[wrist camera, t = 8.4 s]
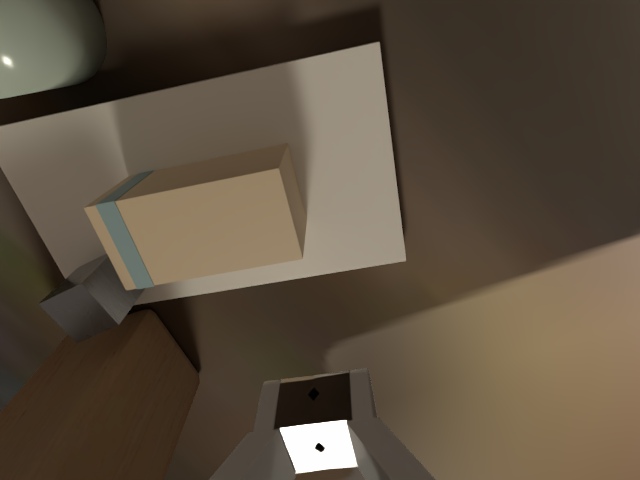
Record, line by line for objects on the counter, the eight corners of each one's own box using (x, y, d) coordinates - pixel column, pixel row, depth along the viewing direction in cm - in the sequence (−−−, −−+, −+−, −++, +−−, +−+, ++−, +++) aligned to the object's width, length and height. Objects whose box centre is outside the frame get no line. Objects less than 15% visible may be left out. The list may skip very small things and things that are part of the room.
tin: (77, 267, 33) (38, 304, 28) (115, 249, 32) (81, 283, 27) (109, 303, 34) (76, 343, 30) (146, 286, 34) (119, 325, 29)
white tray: (0, 125, 30) (-21, 131, 28) (376, 41, 27) (379, 41, 25) (96, 299, 37) (85, 313, 35) (401, 248, 34) (406, 260, 32)
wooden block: (124, 400, 43) (-23, 661, 25) (64, 331, 39) (-162, 585, 21) (206, 376, 41) (111, 639, 23) (153, 301, 37) (-12, 551, 19)
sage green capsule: (-24, -19, 26) (-137, -37, 19) (76, -46, 25) (-8, -74, 19) (33, 94, 29) (-49, 110, 22) (123, 73, 28) (65, 84, 22)
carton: (287, 142, 28) (128, 175, 29) (278, 167, 22) (82, 207, 24) (307, 220, 31) (160, 247, 32) (303, 260, 25) (125, 291, 26)
